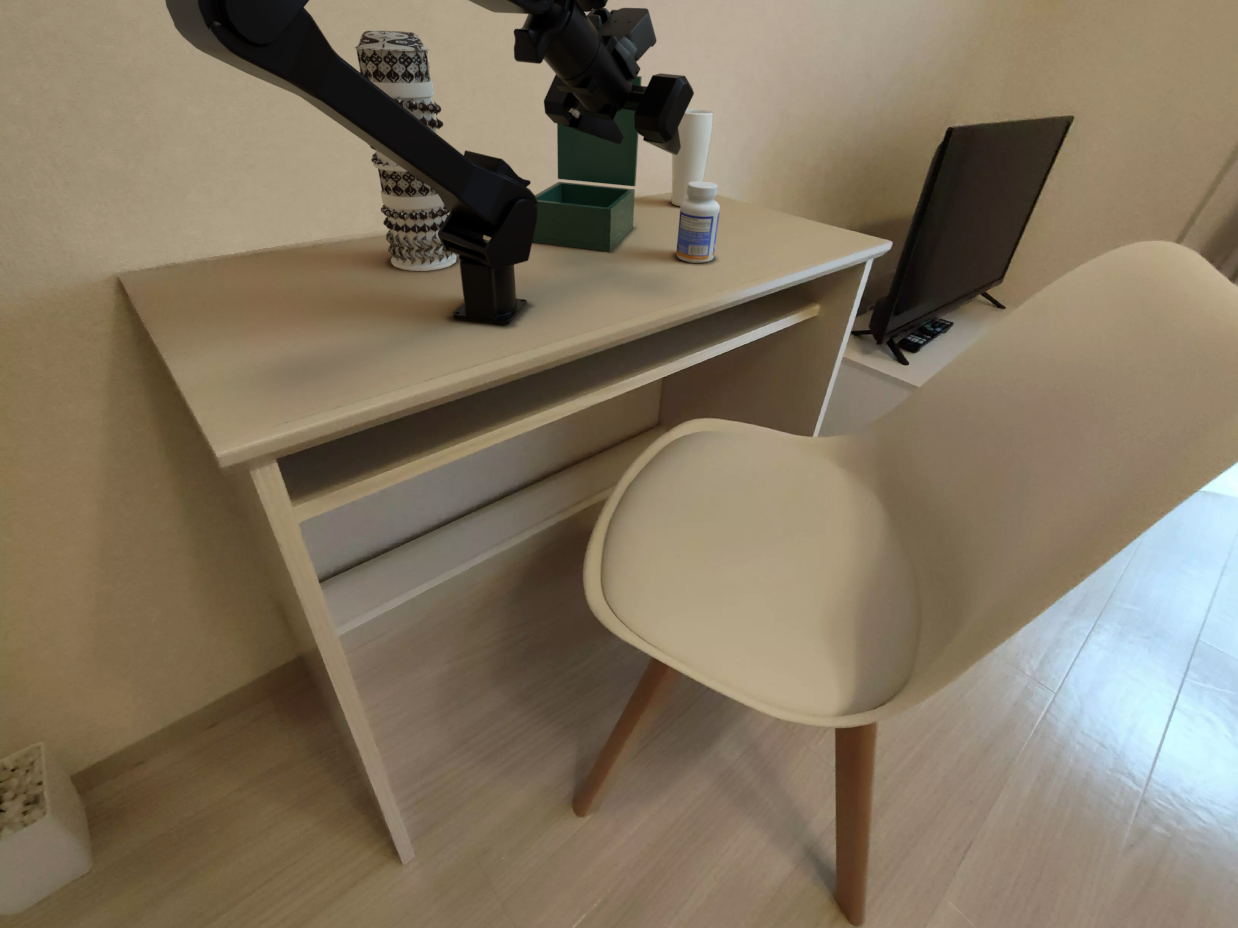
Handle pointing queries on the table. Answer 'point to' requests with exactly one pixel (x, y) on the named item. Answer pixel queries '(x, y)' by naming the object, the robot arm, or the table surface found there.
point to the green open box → (583, 215)
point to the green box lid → (600, 153)
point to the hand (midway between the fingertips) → (648, 146)
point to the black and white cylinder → (406, 198)
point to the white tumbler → (691, 152)
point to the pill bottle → (698, 223)
